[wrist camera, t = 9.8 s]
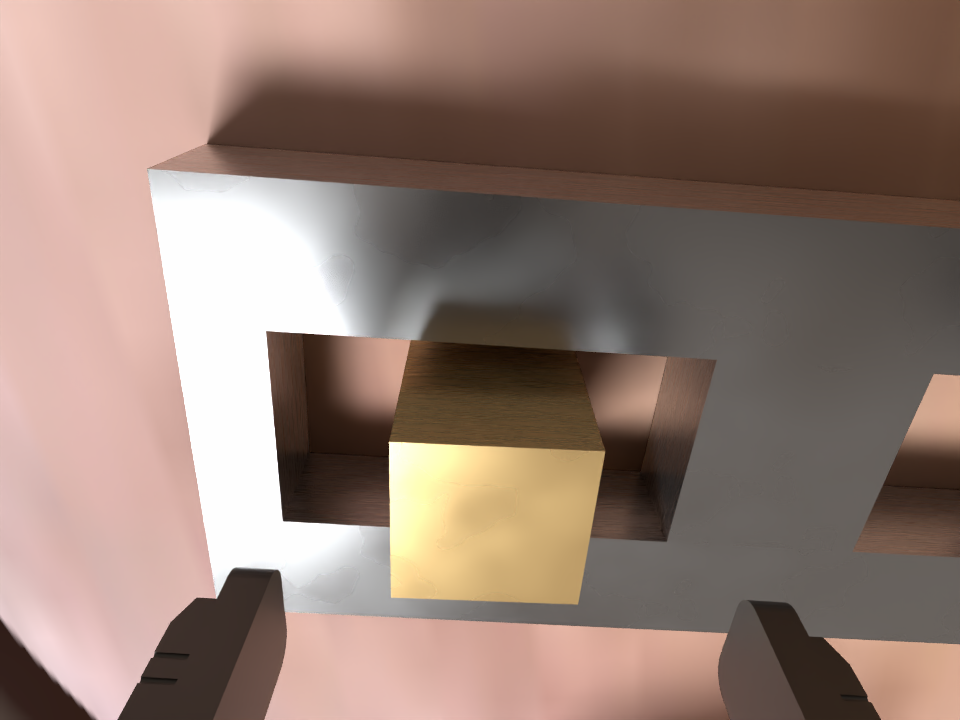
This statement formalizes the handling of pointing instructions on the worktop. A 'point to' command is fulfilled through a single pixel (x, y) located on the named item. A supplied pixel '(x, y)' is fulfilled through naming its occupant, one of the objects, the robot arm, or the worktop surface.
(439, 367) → the block
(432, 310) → the silver slotted board
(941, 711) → the worktop surface
